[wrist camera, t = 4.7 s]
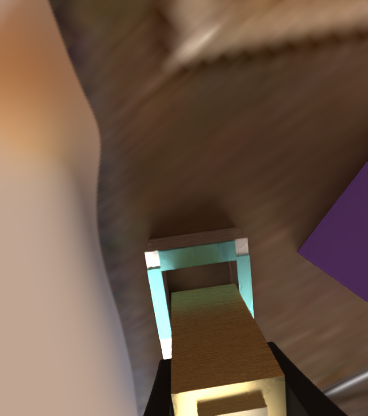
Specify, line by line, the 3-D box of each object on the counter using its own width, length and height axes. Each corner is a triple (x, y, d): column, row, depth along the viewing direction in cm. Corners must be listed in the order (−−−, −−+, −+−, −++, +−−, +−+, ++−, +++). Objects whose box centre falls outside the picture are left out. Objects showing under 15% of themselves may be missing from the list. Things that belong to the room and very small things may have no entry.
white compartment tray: (249, 394, 20) (261, 428, 18) (177, 406, 20) (178, 442, 18) (236, 227, 17) (248, 238, 14) (148, 239, 17) (144, 253, 14)
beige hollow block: (239, 337, 14) (292, 471, 8) (180, 347, 14) (186, 490, 8) (234, 283, 13) (289, 384, 7) (171, 292, 13) (171, 404, 7)
